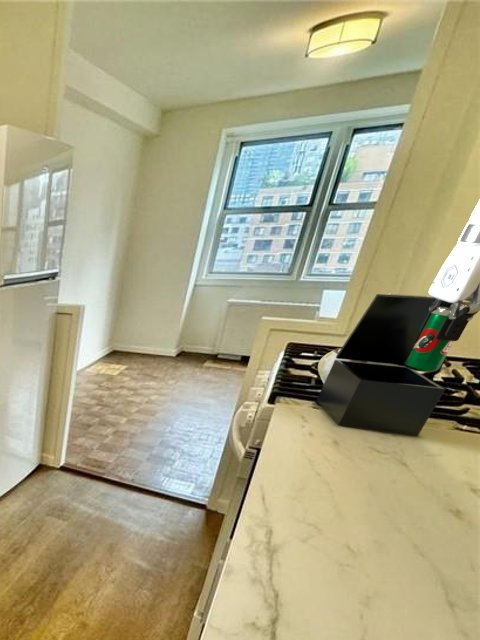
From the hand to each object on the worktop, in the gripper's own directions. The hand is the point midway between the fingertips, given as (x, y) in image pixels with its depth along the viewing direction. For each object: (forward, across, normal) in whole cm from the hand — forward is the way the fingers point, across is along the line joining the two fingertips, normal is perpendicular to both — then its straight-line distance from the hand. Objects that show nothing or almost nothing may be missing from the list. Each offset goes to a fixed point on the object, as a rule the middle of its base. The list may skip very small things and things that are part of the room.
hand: (437, 335), depth 95 cm
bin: (+21, -8, -1) cm, 23 cm away
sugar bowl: (+21, -26, +1) cm, 34 cm away
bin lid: (+2, -12, -1) cm, 13 cm away
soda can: (+7, 0, 0) cm, 7 cm away
